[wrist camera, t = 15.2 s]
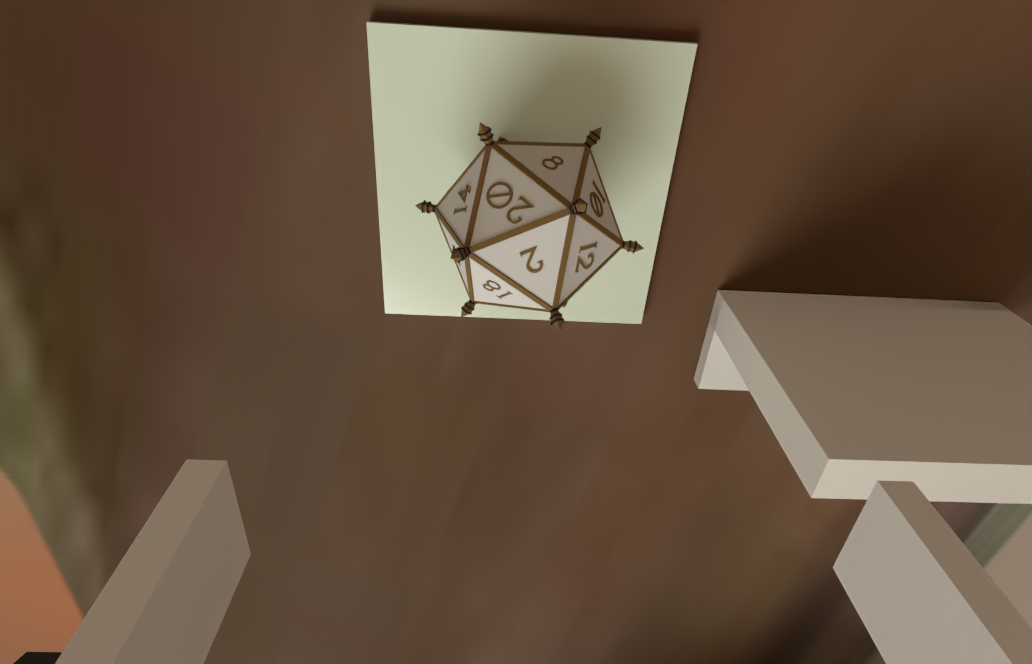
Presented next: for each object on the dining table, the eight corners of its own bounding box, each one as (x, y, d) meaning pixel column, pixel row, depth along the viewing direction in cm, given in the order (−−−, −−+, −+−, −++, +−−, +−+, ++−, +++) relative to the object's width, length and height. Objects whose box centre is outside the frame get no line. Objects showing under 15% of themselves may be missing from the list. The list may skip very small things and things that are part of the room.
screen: (950, 388, 36) (1145, 573, 25) (693, 378, 36) (780, 565, 25) (998, 302, 33) (1244, 471, 22) (717, 289, 32) (829, 459, 21)
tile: (639, 318, 33) (641, 323, 33) (386, 307, 33) (384, 313, 32) (693, 42, 26) (697, 44, 25) (369, 21, 25) (366, 22, 25)
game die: (486, 182, 32) (338, 225, 25) (591, 64, 26) (437, 74, 19) (582, 317, 32) (459, 401, 24) (710, 227, 26) (599, 302, 19)
